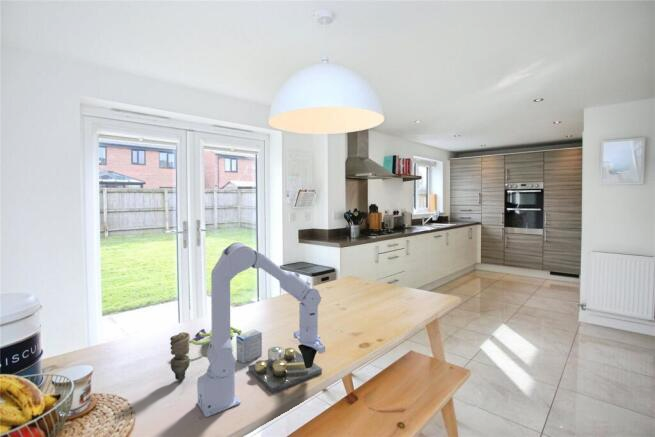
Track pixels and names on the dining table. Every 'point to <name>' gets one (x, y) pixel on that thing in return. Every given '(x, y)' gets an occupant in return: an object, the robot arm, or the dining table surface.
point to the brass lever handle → (286, 367)
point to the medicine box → (249, 345)
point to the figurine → (204, 334)
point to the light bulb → (180, 354)
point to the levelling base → (276, 383)
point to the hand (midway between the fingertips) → (308, 367)
